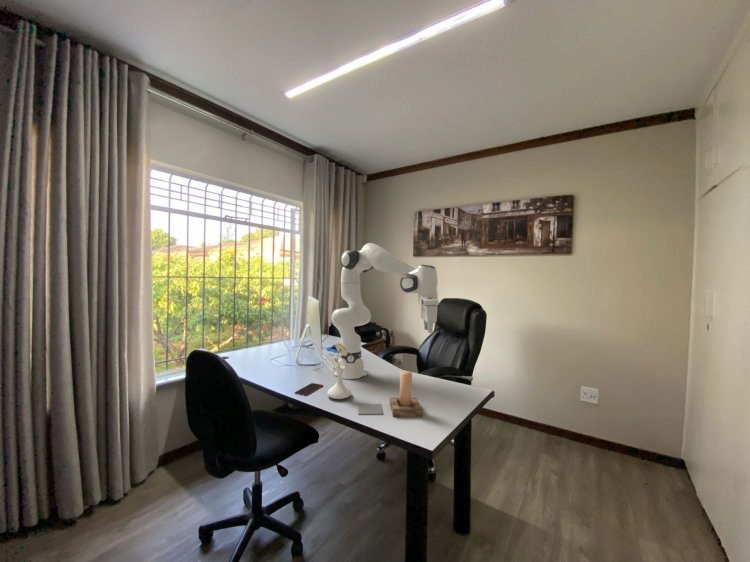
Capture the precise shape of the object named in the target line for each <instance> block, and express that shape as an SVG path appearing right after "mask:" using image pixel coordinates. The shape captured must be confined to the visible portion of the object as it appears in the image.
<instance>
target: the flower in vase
mask: <svg viewBox="0 0 750 562" xmlns="http://www.w3.org/2000/svg"><path fill="white" fill-rule="evenodd" d="M334 345H335V349H336V351H338V353H337V356H336V357H334V359H333V361H335V362H336V364H337V363H338V361H339V359H338V358H339V355H340V354H342V355H344V356H346V355H347V353H348V352H347V350H346V347H344V346H343V345H342V343H340V342H338V341H337V342H336V343H335V344H334ZM343 362H344V361H343ZM341 363H342V362H341ZM341 363H338V364H337V366H335V367H334V369H335V370H336V371H337V376H336V377H337V380H336V383H335V384H334V385H333V386H331V387H330V388H329V389H328V390H327V393H326V394H327V396H328V397H330V398H331V399H334V400H335V399H336V400H344V399H348V398H349V397H350V396H351V395H352V390H351V388H349V387H348V386H347V385H346V384H344V382H343V378H342V374H343V371H344V369H345V367H344V366H338V365H339V364H341ZM336 371H335V372H336Z"/></svg>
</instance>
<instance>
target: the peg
mask: <svg viewBox="0 0 750 562" xmlns="http://www.w3.org/2000/svg"><path fill="white" fill-rule="evenodd" d="M412 381H413V372H411V371H409V370H401V371H400V372H399V398H400V404H399V407H408V406H411V398H412V393H413V392H412V390H413V389H412V387H413V382H412Z"/></svg>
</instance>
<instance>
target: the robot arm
mask: <svg viewBox="0 0 750 562" xmlns="http://www.w3.org/2000/svg"><path fill="white" fill-rule="evenodd" d="M340 263H341V266H342V268H341V275H340V292H341V294H340V296H341V298H342V299H343V300H344V301H345V302H346V303H347V305H348V307H342V308H337V309H334V310H333V312H332V313H331V318H330V319H331V324H332V325H333V326H334V327H335V328H336V329H337V330H338V332H339V334H340V338H341V339H340V340H341V343H342V345H343V346H344V347H346V350H347V352H348V353H347V355H346V356H344V355H342V354H340V353H339V355H340V358H339V359H338V363H341V362H342V363H341V364H339V365H338V363H337V362H336V364H337V366H344V367H345V369H344V371H343V374H342V379H344V380H357V379H360V377H361V378H363V377H366V375H368V373H367V372H366V371H365V368H364V367H365V366H364V365H365V364H364V363H365V361H364V360H363V359H362V346H361V345H362V339H361V336H360V335H359V334H357V332H356V331H355V327H360V326H364V325H366V324H368V323H369V322H370V321H371V319H372V315H371V311H370V309H369V308H367V306H366V305H365V303H364V302H363V298H362V293H361V281H360V276H361V273H364V274H365V273H367V272H368V271H370V270H373V269H375V270H376V271H379V272H383V273H387V274H388V273H390V274H397V275H399V276H401V278H400V280H399V282H400V283H399V286H400V288H401V290H402V291H403V292H404V293H407V294H417V304H418V305H420V318H421V319H422V321H423V325H424V326H423V327H424V328H423V329H424V330H425V331H427V332H428V333H429V334H433V329H434V324H436V323H437V318H438V306H439V304H440V303H439V297H438V295H439V294H438V289H437V288H438V271H437V268H436V267H435V266H433V265H431V264H430V265H429V264H427V265H426V264H420V265H418V266H417V267H416V268H413V267H412V266H410V265H408V264H407V263H405V262H403V261H402V260H400V259H399V258H397V257H396V256H395V255H393V254H391V253H390V252H389V251H388V250H386V249H385V248H384V247H381V246H380V245H378V244H377V243H373V242H368V243H365V245H363V247H362V248H361V250H357V249H350V250H345V251H344V252H343V253H342V254H341V256H340ZM341 343H340V344H341ZM343 361H344V362H343ZM333 376H335V377H337V371H335V372H334V374H333ZM362 376H363V377H362Z"/></svg>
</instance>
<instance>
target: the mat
mask: <svg viewBox="0 0 750 562" xmlns="http://www.w3.org/2000/svg"><path fill="white" fill-rule="evenodd" d="M357 404H358V407H357V409H358V410H357V411H358V413H357V414H358V416H361V415H362V416H368V415H369V416H373V415H374V414H381V416H382V415H383V414H384V412H383V408H382V403H357ZM370 414H371V415H370Z"/></svg>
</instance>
